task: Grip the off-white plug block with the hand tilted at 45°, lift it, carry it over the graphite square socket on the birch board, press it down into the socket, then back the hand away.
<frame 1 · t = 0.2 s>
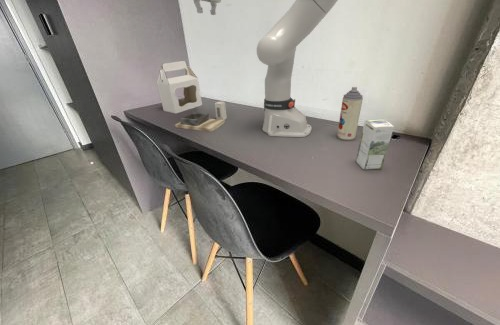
hand: (207, 14, 92), 48 cm above the table, tool pointing down, fingers open, 8 cm apart
plug block: (221, 119, 121), on the table
dock board: (200, 125, 114), on the table
gable box: (183, 108, 146), on the table
aerosol can: (345, 138, 90), on the table
syrup box: (368, 165, 71), on the table
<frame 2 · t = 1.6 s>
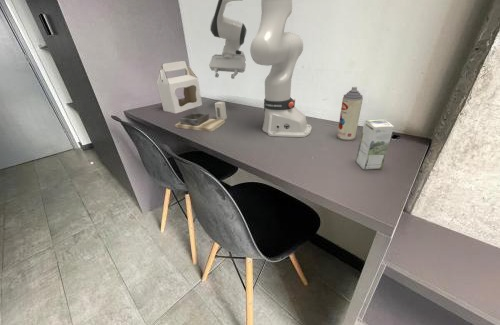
hand: (224, 77, 120), 20 cm above the table, tool tilted 45°, fingers open, 8 cm apart
nothing on the table moved.
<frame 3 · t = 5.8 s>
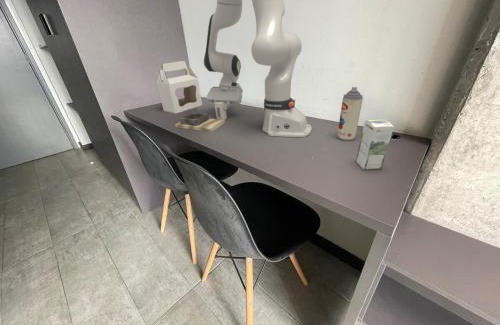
hand: (220, 109, 118), 5 cm above the table, tool tilted 45°, fingers closed on plug block, 4 cm apart
plug block: (221, 119, 121), on the table, touching gripper
everything else where it was.
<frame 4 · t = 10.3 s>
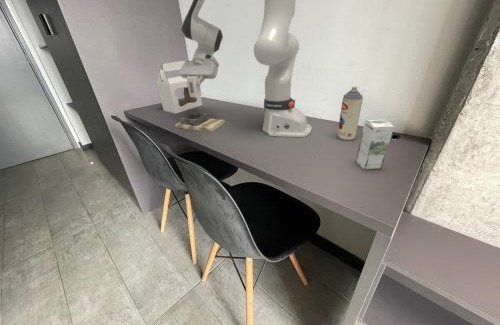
hand: (193, 85, 107), 20 cm above the table, tool tilted 45°, fingers closed on plug block, 4 cm apart
plug block: (195, 96, 109), point 14 cm above the table, touching gripper
everything else where it was.
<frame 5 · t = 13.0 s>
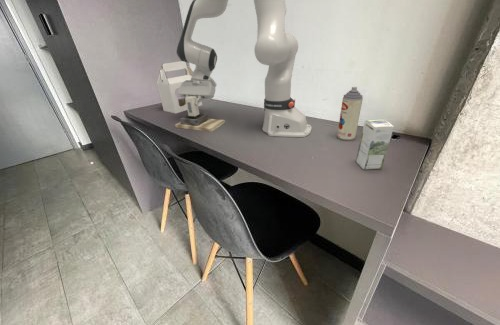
hand: (191, 104, 110), 11 cm above the table, tool tilted 45°, fingers closed on plug block, 4 cm apart
plug block: (194, 114, 113), point 5 cm above the table, touching gripper
everything else where it was.
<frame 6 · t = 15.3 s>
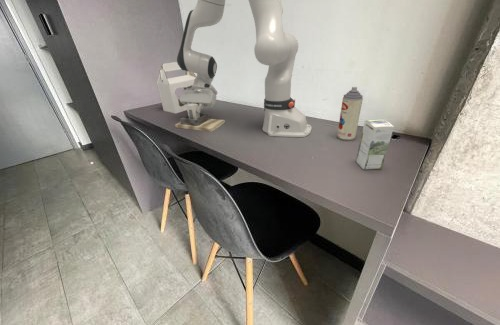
hand: (193, 112, 112), 7 cm above the table, tool tilted 45°, fingers closed on plug block, 4 cm apart
plug block: (195, 121, 115), point 1 cm above the table, touching dock board, gripper
everything else where it was.
when the fingers open (7 cm above the table, at t = 15.3 s): plug block stays where it is, resting on dock board.
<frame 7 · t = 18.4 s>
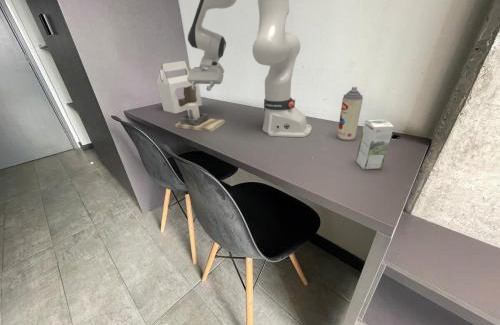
hand: (200, 89, 114), 16 cm above the table, tool tilted 45°, fingers open, 8 cm apart
plug block: (195, 121, 115), point 1 cm above the table, touching dock board
everything else where it was.
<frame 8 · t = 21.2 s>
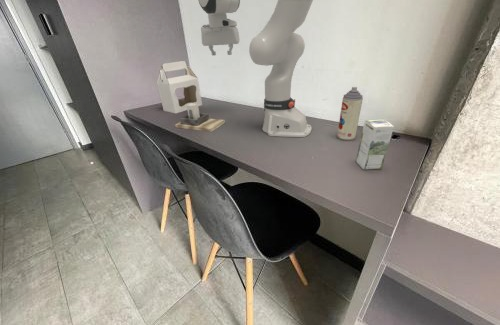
hand: (221, 55, 113), 31 cm above the table, tool pointing down, fingers open, 8 cm apart
nothing on the table moved.
at the end: plug block 0.1 cm from the target spot on the dock board, point 1.5 cm above the dock board's base; plug block tilted 0°; the gripper is holding nothing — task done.
